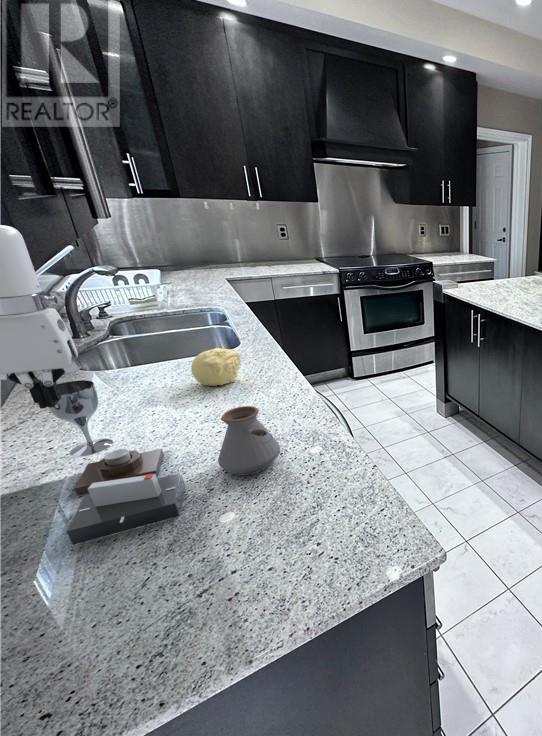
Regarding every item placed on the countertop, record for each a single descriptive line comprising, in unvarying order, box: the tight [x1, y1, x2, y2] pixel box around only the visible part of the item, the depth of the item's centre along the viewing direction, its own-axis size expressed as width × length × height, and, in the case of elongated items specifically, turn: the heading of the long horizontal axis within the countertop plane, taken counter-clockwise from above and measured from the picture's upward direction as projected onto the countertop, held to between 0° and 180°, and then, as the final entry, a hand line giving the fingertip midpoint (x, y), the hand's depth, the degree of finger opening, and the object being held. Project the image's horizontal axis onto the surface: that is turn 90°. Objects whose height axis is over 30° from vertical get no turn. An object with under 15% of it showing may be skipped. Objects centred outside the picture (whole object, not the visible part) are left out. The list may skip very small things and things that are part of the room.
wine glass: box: [46, 379, 114, 457], centre depth 89 cm, size 8×8×15 cm
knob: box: [88, 474, 162, 507], centre depth 72 cm, size 9×2×4 cm, turn 111°
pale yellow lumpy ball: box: [190, 347, 242, 387], centre depth 124 cm, size 12×12×11 cm
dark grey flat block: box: [66, 472, 186, 546], centre depth 74 cm, size 14×13×3 cm
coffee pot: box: [217, 405, 281, 476], centre depth 83 cm, size 21×12×15 cm, turn 47°
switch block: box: [74, 448, 165, 496], centre depth 83 cm, size 12×9×4 cm
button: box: [104, 448, 131, 466], centre depth 82 cm, size 4×4×2 cm
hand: (50, 404), depth 73 cm, fingers closed
